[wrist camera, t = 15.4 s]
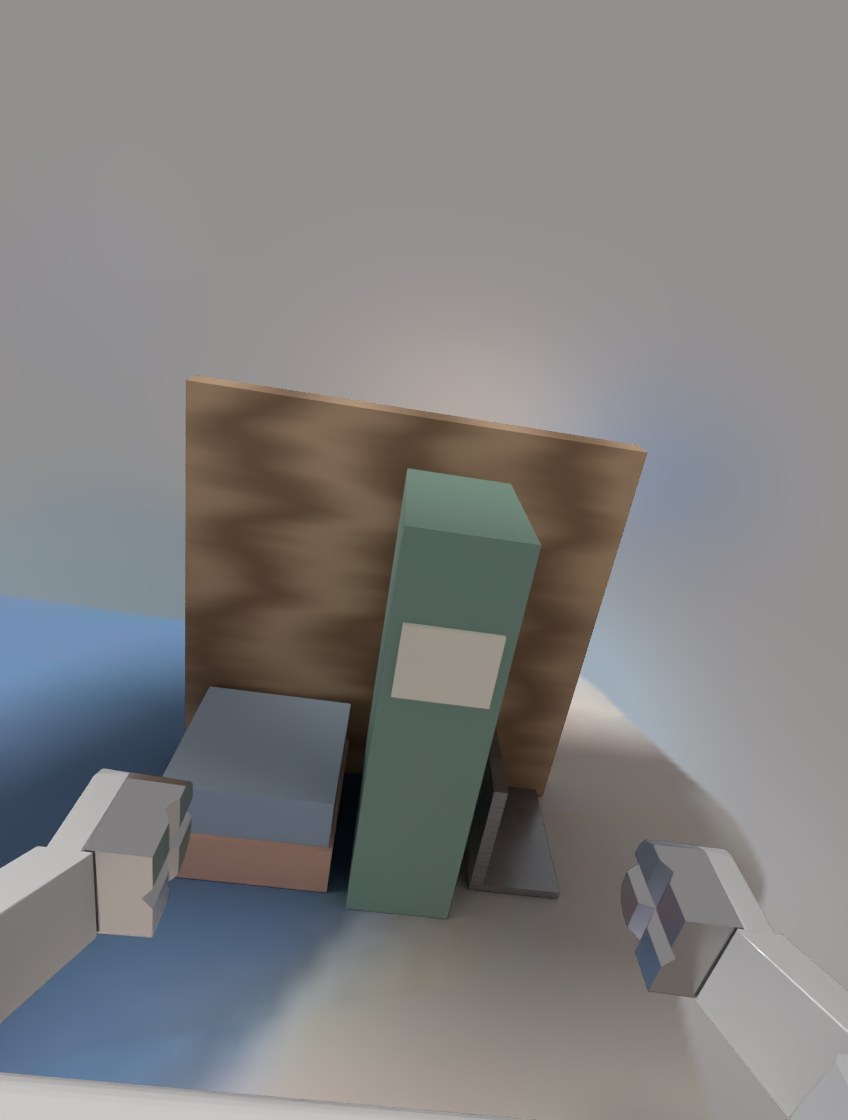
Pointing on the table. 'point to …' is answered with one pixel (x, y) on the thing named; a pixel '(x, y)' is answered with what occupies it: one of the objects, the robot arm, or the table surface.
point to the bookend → (508, 837)
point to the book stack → (263, 788)
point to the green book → (438, 687)
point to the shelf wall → (378, 549)
